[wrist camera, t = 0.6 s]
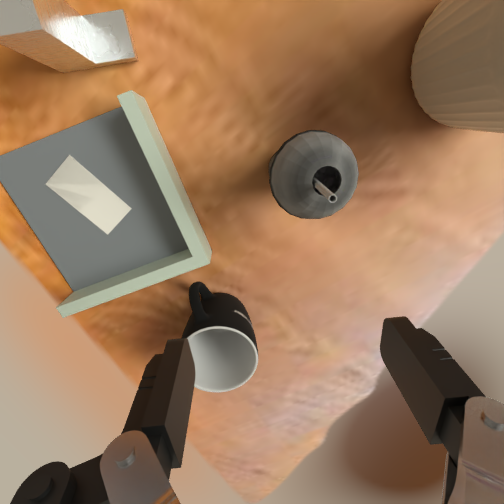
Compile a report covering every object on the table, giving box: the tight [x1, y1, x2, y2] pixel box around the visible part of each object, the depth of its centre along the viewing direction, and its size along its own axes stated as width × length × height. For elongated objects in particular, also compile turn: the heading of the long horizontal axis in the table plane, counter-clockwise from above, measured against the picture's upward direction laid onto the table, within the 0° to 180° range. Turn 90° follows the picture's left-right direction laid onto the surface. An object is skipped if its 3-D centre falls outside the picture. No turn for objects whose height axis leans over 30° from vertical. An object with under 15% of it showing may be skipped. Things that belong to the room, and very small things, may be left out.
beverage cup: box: [269, 130, 359, 219], centre depth 26 cm, size 7×7×20 cm
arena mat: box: [0, 107, 212, 292], centre depth 35 cm, size 19×19×1 cm
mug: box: [182, 282, 258, 392], centre depth 36 cm, size 12×9×10 cm
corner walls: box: [56, 90, 212, 318], centre depth 33 cm, size 19×19×4 cm
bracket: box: [0, 0, 138, 73], centre depth 25 cm, size 8×4×10 cm, turn 99°
